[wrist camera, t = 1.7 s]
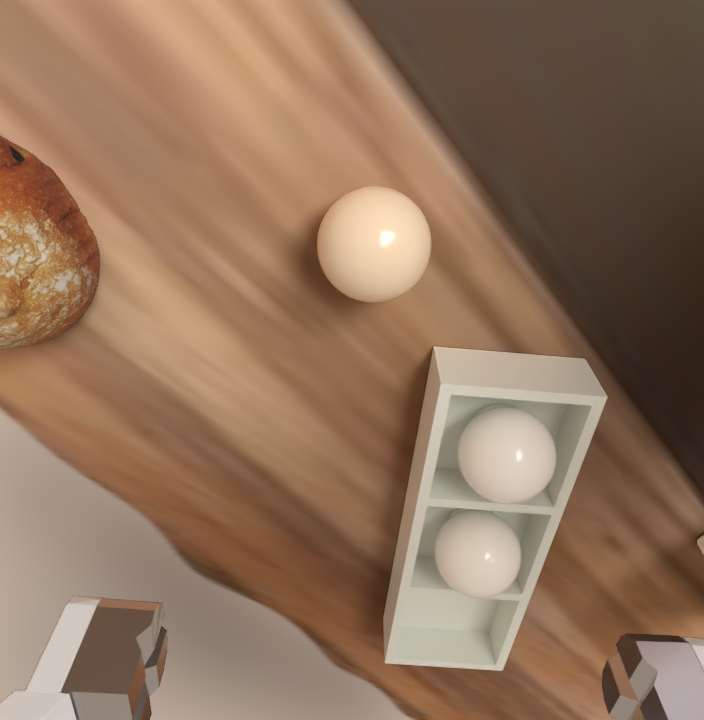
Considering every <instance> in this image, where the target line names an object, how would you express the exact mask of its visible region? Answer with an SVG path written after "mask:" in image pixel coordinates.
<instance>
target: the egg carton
mask: <svg viewBox="0 0 704 720" xmlns="http://www.w3.org/2000/svg"><path fill="white" fill-rule="evenodd" d="M607 398H608V397H607V395H606V393H605V391H604V390H603V388H602V386H601V385H600V383H599V381H598V379H597V378H596V376H595V374H594V373H593V371H592V369H591V368H590V366H589V364H588V362H587V361H586V359H582V358H570V357H558V356H546V355H534V354H522V353H509V352H497V351H485V350H473V349H461V348H449V347H436V346H434V347H433V352H432V358H431V363H430V368H429V374H428V379H427V384H426V390H425V395H424V401H423V406H422V411H421V417H420V422H419V428H418V433H417V438H416V444H415V449H414V455H413V460H412V465H411V471H410V476H409V482H408V487H407V492H406V498H405V503H404V508H403V514H402V519H401V525H400V530H399V535H398V541H397V546H396V552H395V557H394V562H393V568H392V573H391V579H390V584H389V589H388V595H387V600H386V606H385V611H384V616H383V626H384V656H385V663H388V664H404V665H420V666H435V667H451V668H467V669H483V670H498V671H503V668H504V666H505V663H506V660H507V658H508V655H509V653H510V650H511V647H512V645H513V642H514V640H515V637H516V634H517V632H518V629H519V627H520V624H521V621H522V619H523V616H524V614H525V611H526V608H527V606H528V603H529V601H530V598H531V595H532V593H533V590H534V588H535V585H536V582H537V580H538V577H539V575H540V572H541V569H542V567H543V564H544V562H545V559H546V556H547V554H548V551H549V549H550V546H551V543H552V541H553V538H554V535H555V533H556V530H557V528H558V525H559V522H560V520H561V517H562V515H563V512H564V509H565V507H566V504H567V502H568V499H569V496H570V494H571V491H572V489H573V486H574V483H575V481H576V478H577V476H578V473H579V470H580V468H581V465H582V463H583V460H584V457H585V455H586V452H587V450H588V447H589V444H590V442H591V439H592V437H593V434H594V431H595V429H596V426H597V424H598V421H599V418H600V416H601V413H602V411H603V408H604V405H605V403H606V400H607ZM493 403H507V404H510V405H513V406H515V407H516V408H520V409H523V410H525V411H527V412H529V413H531V414H533V415H534V416H536V417H537V418H538V419H539V420H540V421H541V422H542V423H543V424H544V425H545V426H546V427H547V429H548V430H549V432H550V434H551V436H552V438H553V440H554V443H555V447H556V456H557V458H556V467H555V471H554V474H553V476H552V478H551V480H550V481H549V483H548V485H547V486H546V487H545V488H544V489H543V490H542V491H541V492H540V493H539V494H538V495H536V496H535V497H533V498H531V499H529V500H527V501H524V502H520V503H514V504H503V503H498V502H494V501H491V500H488V499H486V498H484V497H482V496H481V495H479V494H478V493H477V492H476V491H474V490H473V489H472V488H471V487H470V486H469V484H468V483H467V482H466V480H465V479H464V477H463V475H462V473H461V471H460V468H459V464H458V458H457V449H458V442H459V439H460V436H461V434H462V432H463V430H464V428H465V427H466V425H467V424H468V423H469V422H470V421H471V419H472V417H473V415H474V414H475V413H476V412H477V411H478V410H479V409H481V408H482V407H484V406H487V405H489V404H493ZM455 508H463V509H476V510H490V511H493V513H494V514H496V515H498V516H500V517H501V518H502V519H504V520H505V521H506V522H507V523H508V524H509V525H510V526H511V528H512V529H513V530H514V532H515V534H516V536H517V538H518V541H519V544H520V548H521V565H520V569H519V572H518V575H517V577H516V578H515V580H514V582H513V583H512V584H511V585H510V586H509V587H508V588H507V589H506V590H505V591H503V592H502V593H500V594H498V595H496V596H493V597H490V598H482V599H479V598H471V597H468V596H465V595H462V594H460V593H459V592H457V591H455V590H454V589H453V588H451V587H450V586H449V585H448V584H447V583H446V582H445V580H444V579H443V578H442V576H441V574H440V572H439V570H438V568H437V565H436V561H435V554H434V547H435V541H436V537H437V534H438V532H439V530H440V529H441V527H442V526H443V524H444V523H445V522H446V521H447V517H448V515H449V513H450V512H451V511H452V510H453V509H455Z"/></svg>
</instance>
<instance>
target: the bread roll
mask: <svg viewBox="0 0 704 720" xmlns="http://www.w3.org/2000/svg"><path fill="white" fill-rule="evenodd" d="M99 264H100V254H99V249H98V244H97V240H96V237H95V235H94V233H93V231H92V229H91V228H90V226H89V225H88V222H87V220H86V217H85V216H84V215H83V214H82V213H81V212H80V209H79V207H78V205H77V203H76V202H75V200H74V199H73V197H72V196H71V195H70V193H69V192H68V190H67V189H66V187H65V186H64V184H63V183H62V181H61V180H60V178H59V177H58V176H57V175H56V173H55V172H54V171H53V170H52V169H51V168H50V167H48V166H47V165H45V164H44V163H42V162H41V161H40V160H39V159H38V158H37V157H36V156H34V155H33V154H31V153H30V152H28V151H27V150H25V149H23V148H21V147H19V146H18V145H16V144H14V143H12V142H10V141H9V140H7V139H5V138H3V137H2V136H0V348H3V349H9V348H17V347H24V346H30V345H34V344H39V343H42V342H45V341H47V340H50V339H52V338H54V337H56V336H58V335H60V334H61V333H63V332H65V331H66V330H68V329H70V328H71V327H72V326H73V325H74V324H75V323H76V322H77V321H78V320H79V319H80V318H81V317H82V316H83V314H84V313H85V312H86V310H87V308H88V307H89V305H90V304H91V302H92V299H93V297H94V295H95V291H96V288H97V285H98V278H99Z"/></svg>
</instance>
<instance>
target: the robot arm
mask: <svg viewBox="0 0 704 720" xmlns="http://www.w3.org/2000/svg"><path fill="white" fill-rule="evenodd" d="M164 615H165V613H164V608H163V603H158V602H146V601H133V600H119V599H107V598H98V597H83V596H73V597H72V598H71V599H70V600H69V602H68V603H67V604H66V605H65V607H64V609H63V611H62V613H61V615H60V618H59V620H58V622H57V624H56V626H55V628H54V630H53V632H52V634H51V636H50V638H49V641H48V643H47V645H46V647H45V649H44V651H43V653H42V655H41V658H40V659H39V662H38V664H37V666H36V668H35V670H34V672H33V674H32V676H31V678H30V681H29V683H28V685H27V687H26V689H25V690H15V691H14V692H13V693H11V694H10V695H9V696H8V697H7V698H5V699H4V700H3V701H2V702H1V703H0V720H150V717H151V706H150V699H149V696H150V695H151V694H152V693H153V692H154V691H155V690H156V689H157V688H158V687H159V686H160V682H161V678H162V675H163V671H164V666H165V660H166V654H167V630H166V629H164V628H163V627H162V626H161V625H162V622H163V619H164ZM616 646H617V649H618V652H619V653H618V654H617V655H615V656H613V657H611V658H610V659H608V660H607V662H606V665H605V667H604V669H603V673H602V690H603V696H604V701H605V704H606V707H607V710H608V713H609V715H610V716H611V717H612V719H613V720H704V638H692V637H679V636H670V635H649V634H629V633H627V634H624V635H622V636H620V638H619V640H618V642H617V643H616Z"/></svg>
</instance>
